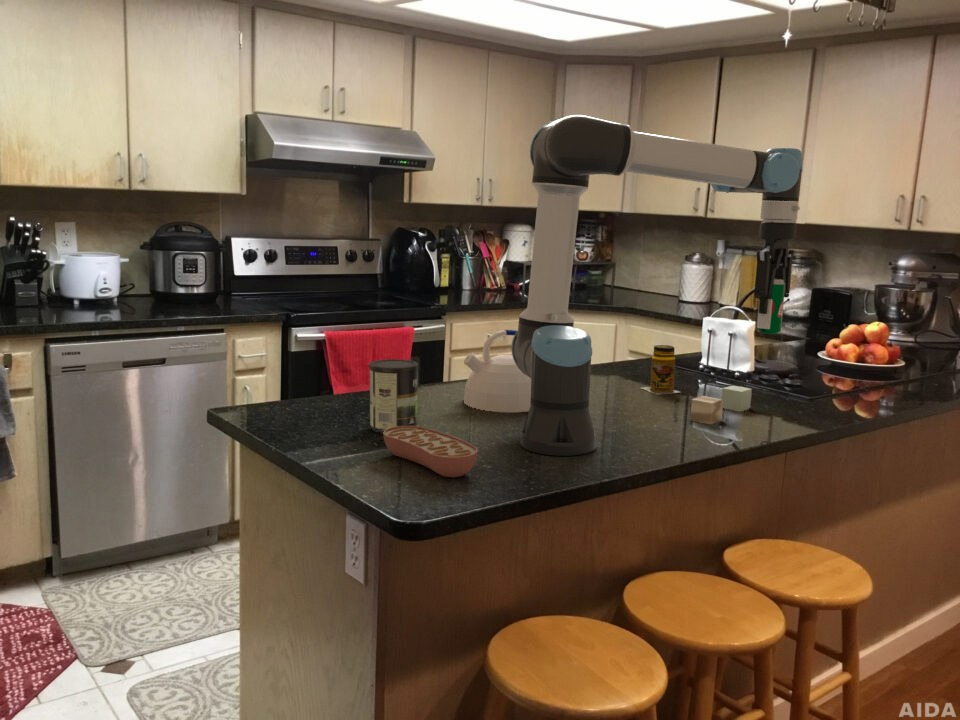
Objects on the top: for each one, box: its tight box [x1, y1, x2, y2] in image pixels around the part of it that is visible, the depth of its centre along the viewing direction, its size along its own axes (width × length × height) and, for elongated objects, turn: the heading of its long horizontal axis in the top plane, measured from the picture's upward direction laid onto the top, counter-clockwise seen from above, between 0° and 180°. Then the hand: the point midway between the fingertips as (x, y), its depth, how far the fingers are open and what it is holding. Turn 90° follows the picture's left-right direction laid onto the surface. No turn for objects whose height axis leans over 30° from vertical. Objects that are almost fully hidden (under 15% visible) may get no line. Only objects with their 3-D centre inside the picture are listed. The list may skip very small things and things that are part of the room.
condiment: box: [640, 344, 680, 395], centre depth 220 cm, size 7×8×12 cm
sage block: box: [721, 385, 753, 413], centre depth 202 cm, size 5×5×5 cm
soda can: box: [756, 278, 785, 335], centre depth 186 cm, size 5×5×12 cm
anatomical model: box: [382, 425, 479, 478], centre depth 154 cm, size 23×10×5 cm, turn 39°
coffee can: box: [368, 358, 419, 431], centre depth 178 cm, size 10×10×14 cm
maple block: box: [689, 395, 723, 425], centre depth 190 cm, size 5×5×5 cm
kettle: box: [463, 329, 531, 414], centre depth 202 cm, size 20×21×18 cm
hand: (769, 326), depth 187 cm, fingers closed on soda can, 5 cm apart
